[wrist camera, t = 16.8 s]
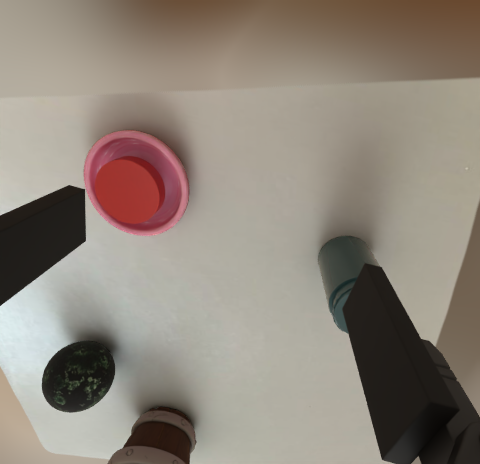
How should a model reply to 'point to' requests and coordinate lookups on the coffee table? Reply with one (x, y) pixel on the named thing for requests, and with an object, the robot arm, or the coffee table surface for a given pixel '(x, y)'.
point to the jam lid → (130, 189)
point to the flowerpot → (158, 439)
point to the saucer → (158, 158)
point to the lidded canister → (342, 271)
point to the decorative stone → (78, 376)
